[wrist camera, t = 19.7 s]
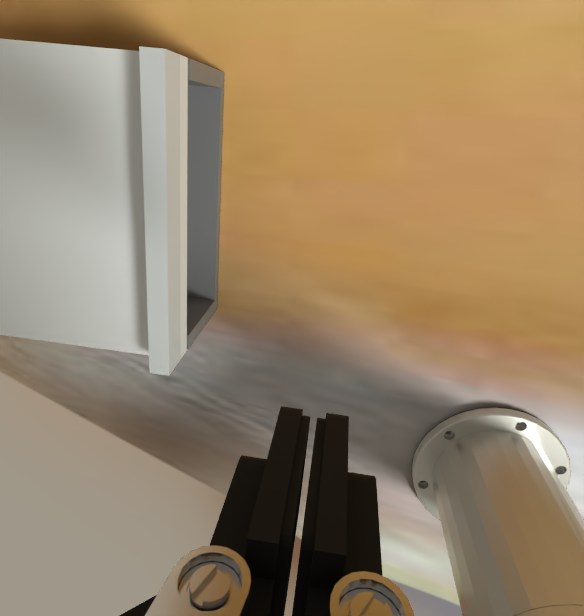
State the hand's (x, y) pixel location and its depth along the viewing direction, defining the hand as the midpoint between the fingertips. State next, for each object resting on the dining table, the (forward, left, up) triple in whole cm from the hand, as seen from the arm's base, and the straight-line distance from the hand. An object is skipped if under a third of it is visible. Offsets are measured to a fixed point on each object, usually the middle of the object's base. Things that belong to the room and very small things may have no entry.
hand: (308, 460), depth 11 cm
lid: (+13, +9, -17) cm, 23 cm away
